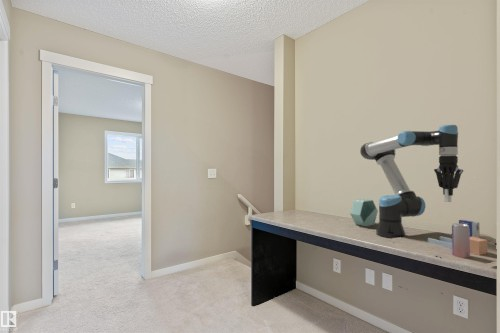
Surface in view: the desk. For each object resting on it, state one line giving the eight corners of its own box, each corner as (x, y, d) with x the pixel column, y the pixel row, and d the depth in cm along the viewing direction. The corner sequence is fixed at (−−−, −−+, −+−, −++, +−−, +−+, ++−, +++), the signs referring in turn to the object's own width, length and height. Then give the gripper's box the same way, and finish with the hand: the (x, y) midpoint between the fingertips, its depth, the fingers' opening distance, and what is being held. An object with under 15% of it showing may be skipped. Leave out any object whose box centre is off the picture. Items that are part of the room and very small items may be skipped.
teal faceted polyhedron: (368, 232, 173) (356, 209, 168) (358, 230, 180) (347, 207, 175) (380, 216, 180) (370, 193, 175) (370, 215, 187) (360, 192, 182)
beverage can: (449, 256, 114) (448, 223, 114) (463, 256, 114) (462, 223, 114) (458, 261, 108) (458, 226, 108) (473, 261, 108) (473, 226, 108)
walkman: (459, 241, 135) (458, 219, 135) (461, 241, 136) (461, 219, 136) (477, 246, 128) (476, 222, 128) (480, 245, 129) (479, 221, 129)
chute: (427, 244, 131) (427, 238, 131) (441, 242, 134) (441, 236, 134) (461, 255, 115) (461, 247, 116) (477, 252, 119) (477, 244, 119)
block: (463, 250, 117) (463, 237, 117) (472, 249, 119) (471, 236, 119) (478, 255, 111) (478, 241, 111) (487, 253, 113) (487, 240, 113)
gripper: (430, 155, 134) (430, 200, 134) (456, 155, 121) (456, 204, 121) (440, 155, 136) (440, 199, 136) (467, 155, 123) (467, 203, 124)
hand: (447, 201), depth 129 cm, fingers closed
